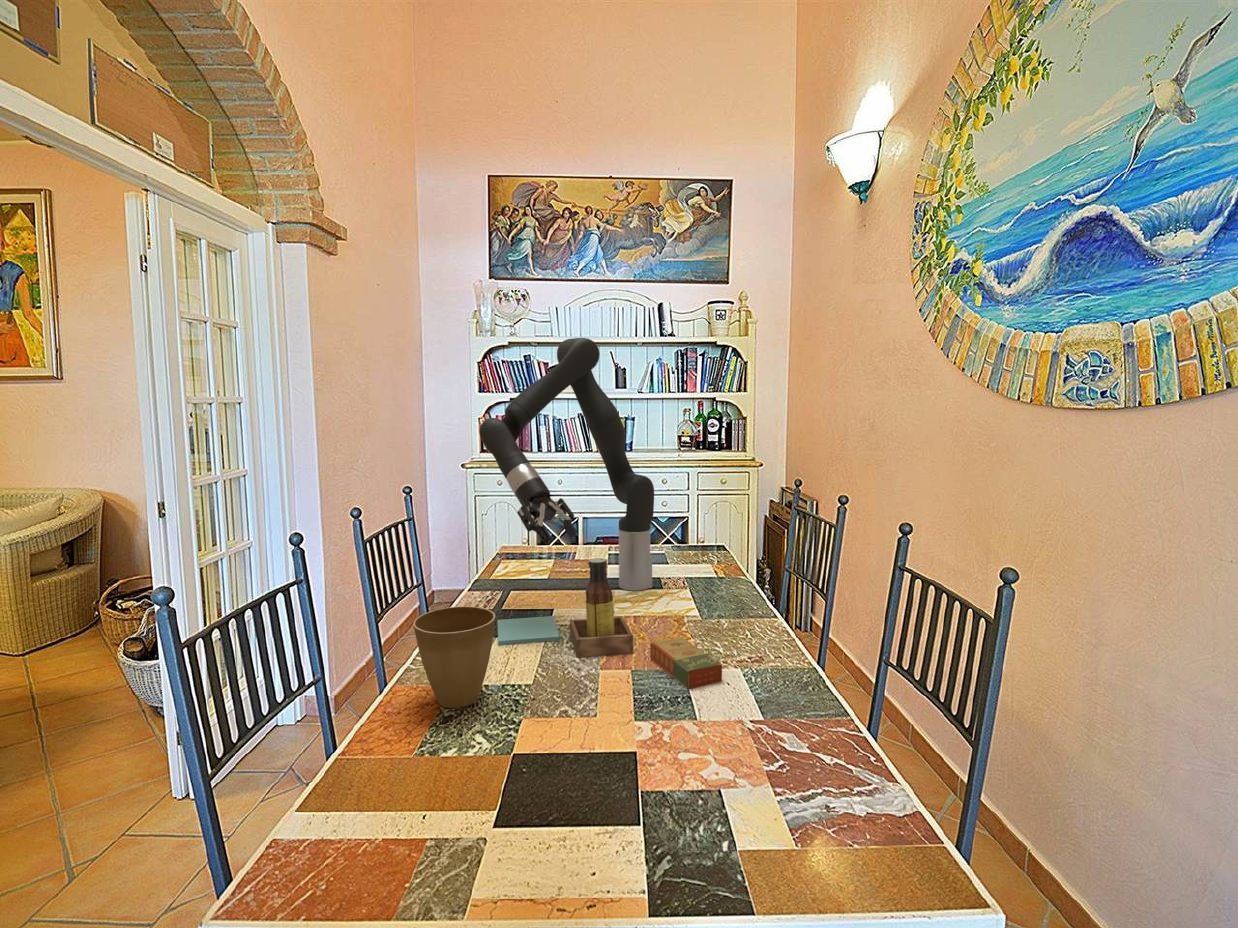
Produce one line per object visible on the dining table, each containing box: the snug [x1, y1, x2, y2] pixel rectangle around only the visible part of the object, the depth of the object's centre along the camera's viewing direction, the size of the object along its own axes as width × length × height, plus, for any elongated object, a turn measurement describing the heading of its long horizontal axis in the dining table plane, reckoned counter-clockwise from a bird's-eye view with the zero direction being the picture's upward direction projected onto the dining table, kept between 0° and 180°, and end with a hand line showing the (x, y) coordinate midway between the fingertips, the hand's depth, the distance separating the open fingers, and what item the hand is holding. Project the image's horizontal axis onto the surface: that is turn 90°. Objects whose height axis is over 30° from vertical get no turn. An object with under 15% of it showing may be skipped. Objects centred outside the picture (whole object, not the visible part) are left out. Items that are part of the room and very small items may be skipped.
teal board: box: [497, 615, 560, 646], centre depth 162 cm, size 14×14×1 cm
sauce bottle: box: [585, 557, 616, 638], centre depth 153 cm, size 6×6×20 cm
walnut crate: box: [569, 615, 634, 658], centre depth 154 cm, size 13×13×4 cm
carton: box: [649, 636, 723, 690], centre depth 140 cm, size 8×16×4 cm, turn 25°
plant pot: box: [412, 605, 496, 709], centre depth 127 cm, size 15×15×16 cm
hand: (562, 538), depth 158 cm, fingers open, 8 cm apart
